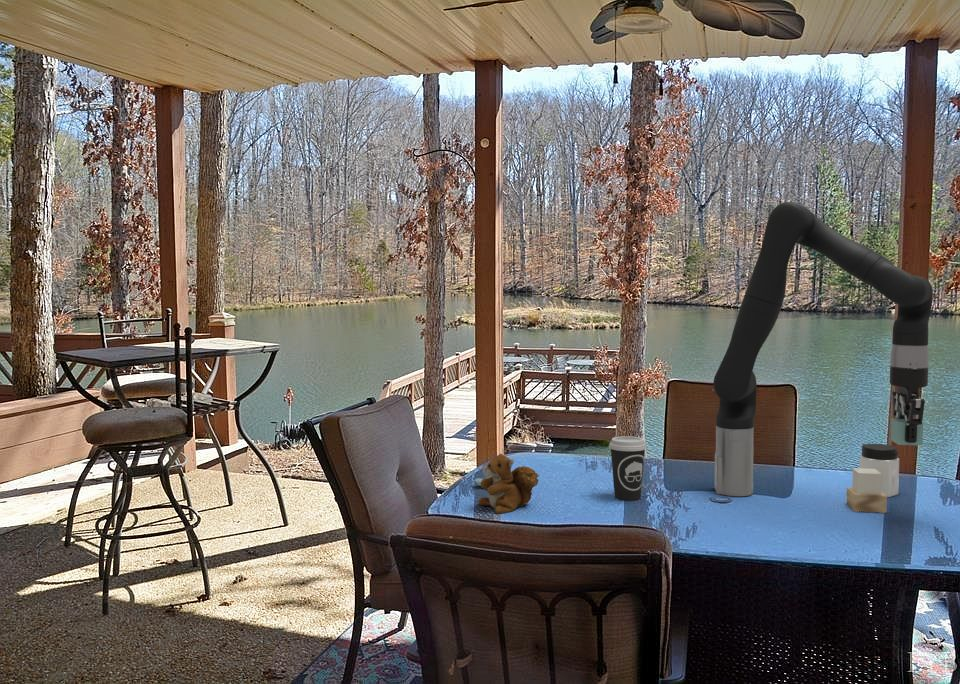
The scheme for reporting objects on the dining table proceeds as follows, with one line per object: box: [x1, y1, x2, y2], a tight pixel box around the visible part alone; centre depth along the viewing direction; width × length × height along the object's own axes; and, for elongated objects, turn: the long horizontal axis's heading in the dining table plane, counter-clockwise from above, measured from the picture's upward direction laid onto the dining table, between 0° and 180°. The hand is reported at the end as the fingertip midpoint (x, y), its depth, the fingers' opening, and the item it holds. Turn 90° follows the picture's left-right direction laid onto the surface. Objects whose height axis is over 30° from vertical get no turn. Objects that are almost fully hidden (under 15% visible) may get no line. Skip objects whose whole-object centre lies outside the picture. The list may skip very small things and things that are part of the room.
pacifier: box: [475, 465, 493, 490], centre depth 208 cm, size 7×6×6 cm
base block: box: [845, 486, 888, 514], centre depth 184 cm, size 7×7×4 cm
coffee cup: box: [608, 435, 648, 502], centre depth 196 cm, size 10×10×15 cm
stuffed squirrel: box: [477, 453, 540, 515], centre depth 189 cm, size 10×14×13 cm
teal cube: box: [890, 418, 924, 446], centre depth 174 cm, size 5×5×5 cm
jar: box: [859, 443, 900, 498], centre depth 197 cm, size 9×8×12 cm
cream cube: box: [851, 467, 882, 495], centre depth 183 cm, size 5×5×5 cm
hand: (906, 439), depth 174 cm, fingers closed on teal cube, 5 cm apart
